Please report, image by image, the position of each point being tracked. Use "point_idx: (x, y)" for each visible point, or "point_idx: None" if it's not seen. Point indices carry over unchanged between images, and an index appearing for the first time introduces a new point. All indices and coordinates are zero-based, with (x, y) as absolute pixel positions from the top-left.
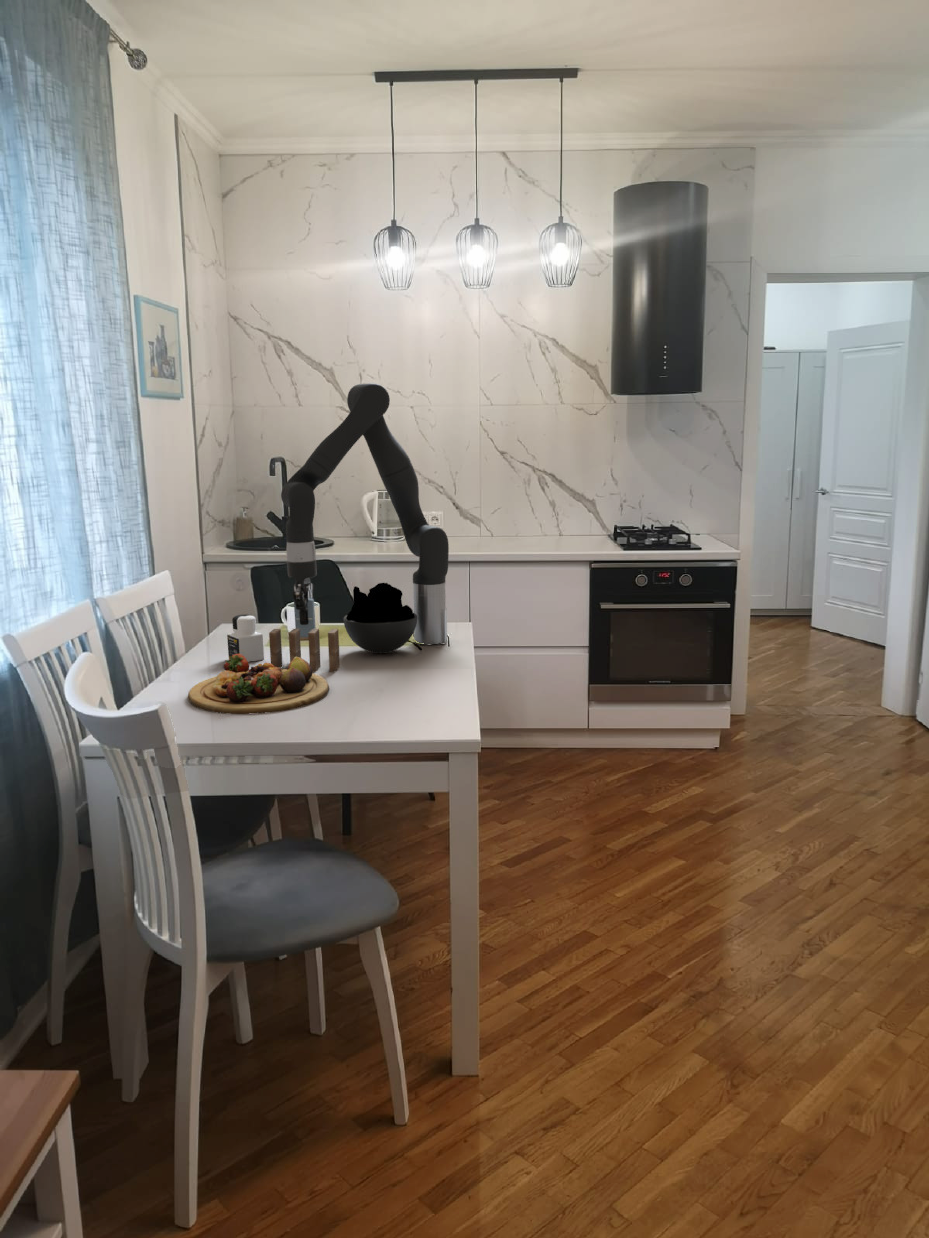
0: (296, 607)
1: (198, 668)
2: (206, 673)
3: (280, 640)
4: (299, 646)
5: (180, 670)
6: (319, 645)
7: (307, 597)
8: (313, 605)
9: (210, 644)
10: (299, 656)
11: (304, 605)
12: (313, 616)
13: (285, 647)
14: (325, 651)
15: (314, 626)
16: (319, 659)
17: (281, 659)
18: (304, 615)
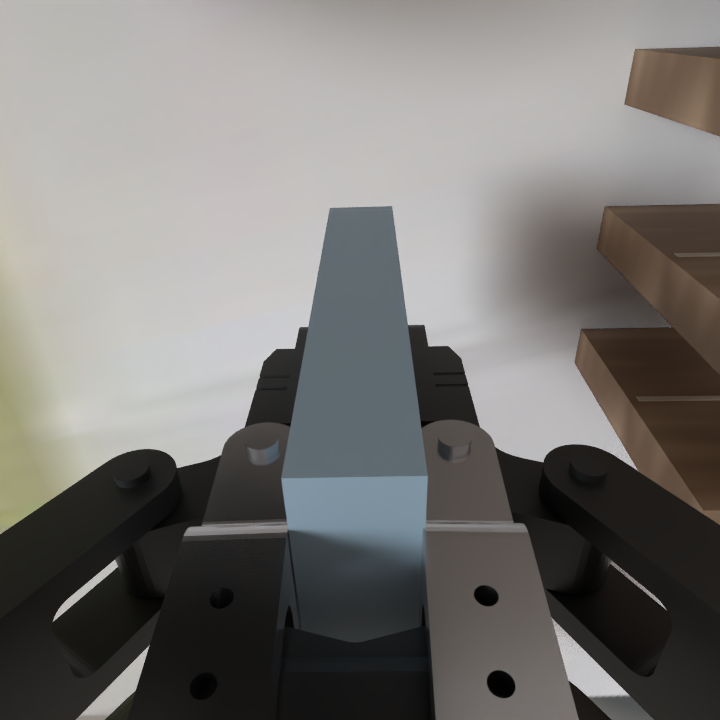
0: (614, 583)
1: (559, 646)
2: (662, 604)
3: (676, 438)
4: (717, 262)
5: (585, 684)
6: None
7: (540, 609)
8: (363, 393)
9: (120, 704)
10: (688, 233)
11: (690, 509)
12: (403, 300)
13: (76, 432)
14: (110, 147)
15: (375, 244)
16: (698, 51)
17: (614, 354)
18: (473, 414)
